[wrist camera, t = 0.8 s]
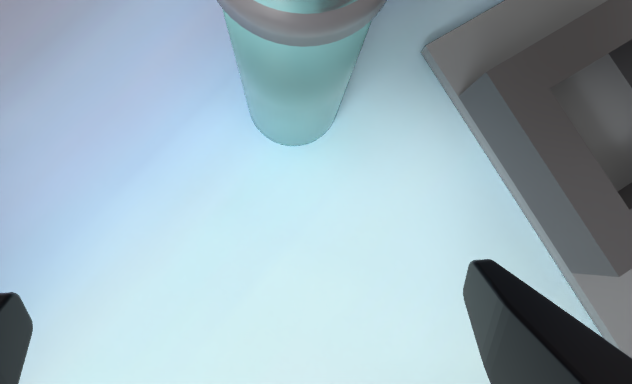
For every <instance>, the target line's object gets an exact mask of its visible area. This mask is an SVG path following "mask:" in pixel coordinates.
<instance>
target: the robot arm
mask: <svg viewBox="0 0 632 384" xmlns="http://www.w3.org/2000/svg"><path fill="white" fill-rule="evenodd" d="M463 296H464V301H465V305H466V308H467V311H468V315H469V318H470V322H471V325H472V328H473V332H474V335H475V338H476V342H477V345H478V349H479V352H480V355H481V359H482V362H483V365H484V368H485V370H486V373H487V375H488V378H489V380H490V383H491V384H632V358H631V357H629V356H628V355H627V354H625V353H624V352H622V351H621V350H619V349H618V348H617V347H615V346H614V345H612V344H611V343H609V342H608V341H607V340H605V339H604V338H602V337H601V336H600V335H598V334H597V333H595V332H594V331H592V330H591V329H590V328H588V327H587V326H585V325H584V324H582V323H581V322H580V321H578V320H577V319H575V318H574V317H573V316H571V315H570V314H568V313H567V312H565V311H564V310H563V309H561V308H560V307H558V306H557V305H555V304H554V303H553V302H551V301H550V300H548V299H547V298H546V297H544V296H543V295H541V294H540V293H538V292H537V291H536V290H534V289H533V288H531V287H530V286H528V285H527V284H526V283H524V282H523V281H521V280H520V279H519V278H517V277H516V276H514V275H513V274H511V273H510V272H509V271H507V270H506V269H504V268H503V267H501V266H500V265H499V264H497V263H496V262H494V261H493V260H490V259H484V260H473V261H471V262H470V264H469V267H468V271H467V275H466V279H465V284H464V288H463ZM32 331H33V324H32V320H31V318H30V316H29V314H28V312H27V310H26V308H25V306H24V304H23V302H22V300H21V298H20V296H19V295H18V294H16V293H13V292H10V293H0V384H18V383H19V379H20V376H21V372H22V368H23V365H24V361H25V357H26V354H27V350H28V347H29V343H30V339H31V336H32Z"/></svg>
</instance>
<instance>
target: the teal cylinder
mask: <svg viewBox="0 0 632 384" xmlns="http://www.w3.org/2000/svg"><path fill="white" fill-rule="evenodd" d="M217 1H218V3H219V4H220V6H221V7H222V9H223V12H224V16H225V20H226V24H227V28H228V31H229V35H230V39H231V43H232V47H233V51H234V54H235V58H236V62H237V66H238V70H239V73H240V77H241V81H242V85H243V89H244V93H245V96H246V100H247V104H248V108H249V112H250V115H251V118H252V120H253V122H254V124H255V126H256V127H257V128H258V130H259V131H260V132H261V133H262V134H263V135H264V136H266V137H267V138H268V139H270V140H272V141H274V142H276V143H279V144H282V145H287V146H300V145H305V144H308V143H311V142H313V141H315V140H317V139H318V138H320V137H321V136H322V135H324V134H325V133H326V132H327V130H328V129H329V128H330V126H331V125H332V123H333V121H334V119H335V116H336V113H337V111H338V108H339V106H340V103H341V100H342V98H343V95H344V92H345V90H346V87H347V84H348V82H349V79H350V76H351V74H352V71H353V68H354V66H355V63H356V61H357V58H358V55H359V53H360V50H361V47H362V45H363V42H364V39H365V37H366V34H367V31H368V29H369V26H370V23H371V21H372V19H373V18H374V17H375V16H376V15H377V14H378V12H379V11H380V10H381V8H382V7H383V5H384V4H385V2H386V1H387V0H217Z"/></svg>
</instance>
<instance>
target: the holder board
mask: <svg viewBox="0 0 632 384" xmlns="http://www.w3.org/2000/svg"><path fill="white" fill-rule="evenodd" d="M421 53H422V55H423V57H424V58H425V60H426V61H427V63H428V64H429V66H430V68H431V69H432V71H433V72H434V74H435V75H436V77H437V78H438V80H439V82H440V83H441V85H442V86H443V88H444V89H445V91H446V93H447V94H448V96H449V97H450V99H451V100H452V102H453V103H454V105H455V107H456V108H457V110H458V111H459V113H460V114H461V116H462V118H463V119H464V121H465V122H466V124H467V125H468V127H469V128H470V130H471V132H472V133H473V135H474V136H475V138H476V139H477V141H478V142H479V144H480V146H481V147H482V149H483V150H484V152H485V153H486V155H487V157H488V158H489V160H490V161H491V163H492V164H493V166H494V167H495V169H496V171H497V172H498V174H499V175H500V177H501V178H502V180H503V182H504V183H505V185H506V186H507V188H508V189H509V191H510V192H511V194H512V196H513V197H514V199H515V200H516V202H517V203H518V205H519V207H520V208H521V210H522V211H523V213H524V214H525V216H526V217H527V219H528V221H529V222H530V224H531V225H532V227H533V228H534V230H535V231H536V233H537V235H538V236H539V238H540V239H541V241H542V242H543V244H544V246H545V247H546V249H547V250H548V252H549V253H550V255H551V256H552V258H553V260H554V261H555V263H556V264H557V266H558V267H559V269H560V271H561V272H562V274H563V275H564V277H565V278H566V280H567V281H568V283H569V285H570V286H571V288H572V289H573V291H574V292H575V294H576V296H577V297H578V299H579V300H580V302H581V303H582V305H583V306H584V308H585V310H586V311H587V313H588V314H589V316H590V317H591V319H592V320H593V322H594V324H595V325H596V327H597V328H598V330H599V331H600V333H601V335H602V336H603V338H604V339H605V340H607V341H608V342H609V343H611V344H612V345H614V346H615V347H617V348H618V349H619V350H621V351H622V352H624V353H625V354H627V355H628V356H629V357H631V358H632V0H505V1H503V2H501V3H499V4H498V5H496V6H494V7H492V8H491V9H489V10H487V11H485V12H484V13H482V14H480V15H478V16H477V17H475V18H473V19H471V20H470V21H468V22H466V23H464V24H463V25H461V26H459V27H457V28H456V29H454V30H452V31H450V32H449V33H447V34H445V35H443V36H442V37H440V38H438V39H436V40H435V41H433V42H431V43H429V44H428V45H426V46H425V47H424V49H423V50H422V51H421Z"/></svg>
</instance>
